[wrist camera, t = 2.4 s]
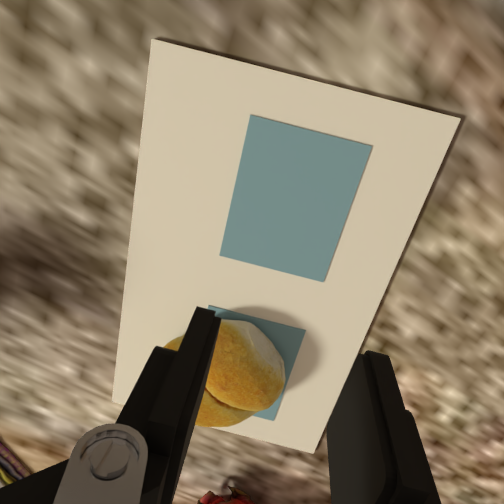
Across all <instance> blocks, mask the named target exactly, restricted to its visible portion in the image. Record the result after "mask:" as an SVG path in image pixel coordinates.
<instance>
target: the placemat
mask: <svg viewBox="0 0 504 504" xmlns="http://www.w3.org/2000/svg"><path fill="white" fill-rule="evenodd" d="M460 120H461V119H460V118H457V117H453V116H449V115H445V114H442V113H438V112H434V111H430V110H426V109H422V108H418V107H415V106H411V105H407V104H403V103H399V102H395V101H391V100H388V99H384V98H380V97H376V96H372V95H368V94H364V93H361V92H357V91H353V90H349V89H345V88H341V87H337V86H333V85H330V84H326V83H322V82H318V81H314V80H310V79H306V78H303V77H299V76H295V75H291V74H287V73H283V72H279V71H276V70H272V69H268V68H264V67H260V66H256V65H252V64H249V63H245V62H241V61H237V60H233V59H229V58H225V57H222V56H218V55H214V54H210V53H206V52H202V51H198V50H195V49H191V48H187V47H183V46H179V45H175V44H171V43H167V42H164V41H160V40H156V39H152V41H151V50H150V59H149V68H148V77H147V86H146V96H145V105H144V114H143V123H142V132H141V141H140V150H139V159H138V168H137V177H136V187H135V196H134V205H133V214H132V223H131V232H130V241H129V250H128V259H127V268H126V278H125V287H124V296H123V305H122V314H121V323H120V332H119V341H118V350H117V359H116V369H115V378H114V387H113V396H112V402H114V403H118V404H122V405H125V403H126V401H127V400H128V398H129V396H130V394H131V392H132V390H133V388H134V386H135V384H136V382H137V380H138V378H139V376H140V374H141V372H142V370H143V368H144V366H145V364H146V362H147V360H148V358H149V357H150V355H151V353H152V351H153V349H154V347H155V346H160V347H164V346H165V345H166V344H167V343H168V342H170V341H171V340H173V339H175V338H177V337H180V336H182V335H184V334H185V332H186V330H187V328H188V325H189V323H190V321H191V318H192V316H193V314H194V311H195V309H196V307H197V306H198V307H202V308H206V309H210V310H214V311H216V313H215V316H216V317H220V318H222V319H226V320H240V321H246V322H249V323H252V324H253V325H255V326H256V327H257V328H259V330H260V331H261V332H263V333H264V334H265V335H266V337H267V338H268V339H269V340H270V341H271V342H272V343H273V345H274V347H275V348H276V350H277V351H278V353H279V354H280V355H281V357H282V359H283V361H284V368H285V378H286V379H285V384H284V388H283V390H282V392H281V394H280V396H279V397H278V399H277V400H276V401H275V402H274V403H273V405H272V406H270V407H269V408H268V409H265V410H262V411H258V412H257V413H255V414H254V415H252V416H251V417H249V418H248V419H246V420H244V421H242V422H240V423H238V424H236V425H233V426H229V427H212V428H215V429H219V430H223V431H227V432H231V433H235V434H239V435H243V436H247V437H250V438H254V439H258V440H262V441H266V442H270V443H274V444H278V445H282V446H285V447H289V448H293V449H297V450H301V451H305V452H309V453H314V451H315V449H316V447H317V444H318V442H319V440H320V438H321V435H322V433H323V431H324V428H325V426H326V424H327V422H328V419H329V417H330V415H331V413H332V410H333V408H334V406H335V404H336V401H337V399H338V397H339V394H340V392H341V390H342V388H343V385H344V383H345V381H346V379H347V376H348V374H349V372H350V369H351V367H352V365H353V363H354V360H355V358H356V356H357V354H358V351H359V349H360V347H361V344H362V342H363V340H364V338H365V335H366V333H367V331H368V329H369V326H370V324H371V322H372V319H373V317H374V315H375V313H376V310H377V308H378V306H379V304H380V301H381V299H382V297H383V294H384V292H385V290H386V288H387V285H388V283H389V281H390V279H391V276H392V274H393V272H394V269H395V267H396V265H397V263H398V260H399V258H400V256H401V254H402V251H403V249H404V247H405V245H406V242H407V240H408V238H409V235H410V233H411V231H412V229H413V226H414V224H415V222H416V220H417V217H418V215H419V213H420V210H421V208H422V206H423V204H424V201H425V199H426V197H427V195H428V192H429V190H430V188H431V185H432V183H433V181H434V179H435V176H436V174H437V172H438V170H439V167H440V165H441V163H442V160H443V158H444V156H445V154H446V151H447V149H448V147H449V145H450V142H451V140H452V138H453V135H454V133H455V131H456V129H457V126H458V124H459V122H460Z"/></svg>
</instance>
